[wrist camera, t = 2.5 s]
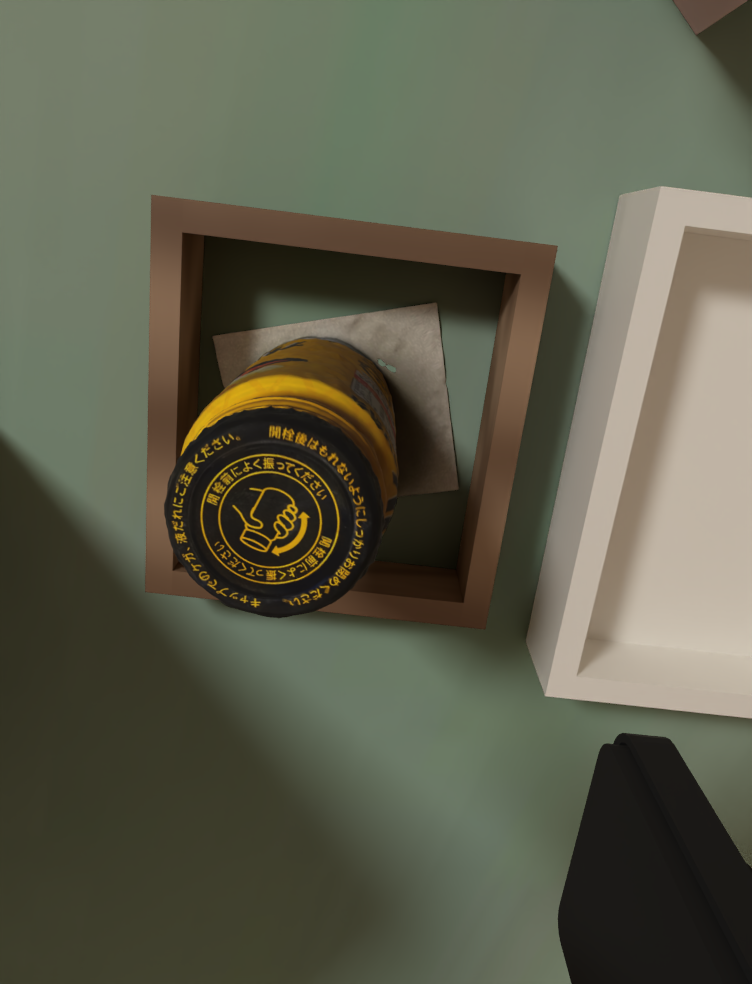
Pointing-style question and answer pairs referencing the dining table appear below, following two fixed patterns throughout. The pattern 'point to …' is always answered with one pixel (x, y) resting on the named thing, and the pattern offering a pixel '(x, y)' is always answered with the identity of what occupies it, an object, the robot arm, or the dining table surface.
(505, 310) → the brown wooden square frame
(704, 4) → the greeting card
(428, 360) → the condiment
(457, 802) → the dining table surface
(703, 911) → the robot arm
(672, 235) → the tray
